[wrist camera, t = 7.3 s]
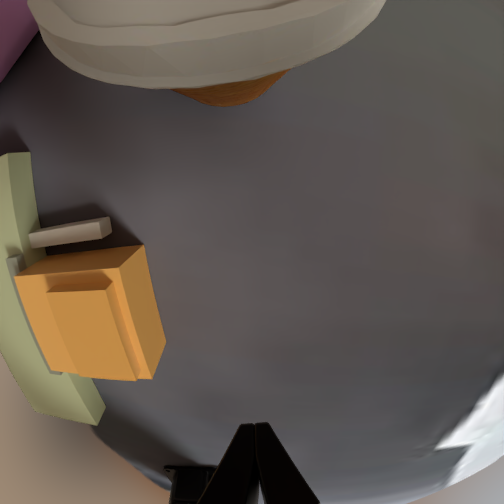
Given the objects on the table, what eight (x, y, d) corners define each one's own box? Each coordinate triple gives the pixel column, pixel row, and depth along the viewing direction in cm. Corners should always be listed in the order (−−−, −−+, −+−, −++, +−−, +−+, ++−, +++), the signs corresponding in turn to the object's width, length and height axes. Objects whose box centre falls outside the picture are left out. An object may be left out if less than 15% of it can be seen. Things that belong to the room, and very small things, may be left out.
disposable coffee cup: (138, 17, 12) (41, -90, 1) (289, -12, 12) (334, -146, 1) (159, 152, 15) (4, 151, 4) (324, 120, 15) (470, 64, 4)
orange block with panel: (166, 341, 19) (148, 390, 14) (74, 340, 19) (44, 378, 14) (143, 244, 17) (110, 275, 12) (46, 255, 17) (4, 282, 12)
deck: (166, 411, 21) (158, 440, 18) (45, 396, 21) (31, 416, 18) (99, 128, 15) (70, 124, 12) (-28, 178, 15) (-54, 183, 12)
